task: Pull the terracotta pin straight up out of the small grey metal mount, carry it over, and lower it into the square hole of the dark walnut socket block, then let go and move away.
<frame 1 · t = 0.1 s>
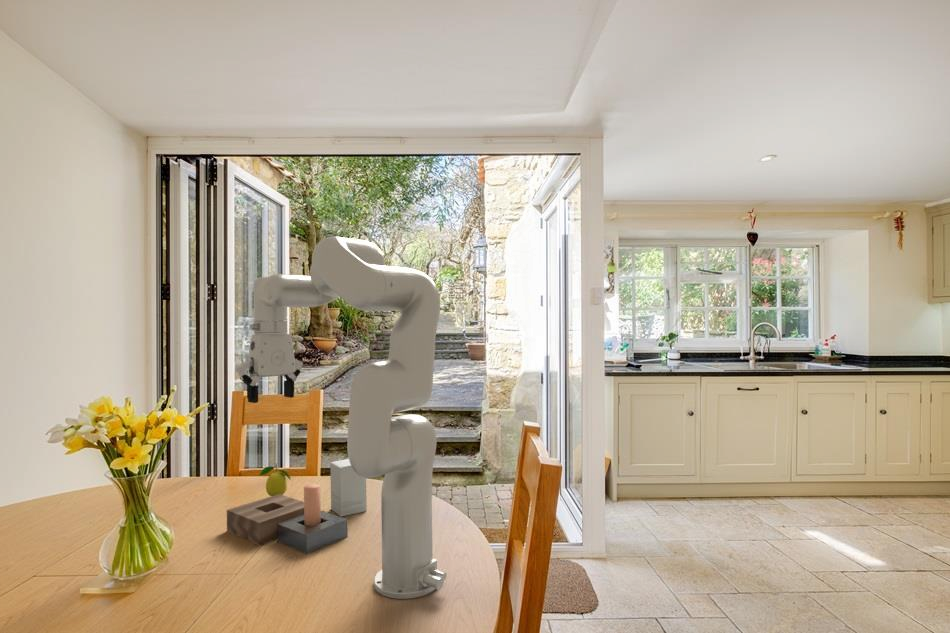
hand: (271, 399, 128), 31 cm above the table, tool pointing down, fingers open, 9 cm apart
pin mount: (312, 539, 121), on the table
supplement box: (348, 510, 140), on the table
pin: (312, 512, 121), in the pin mount
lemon: (275, 499, 149), on the table
socket block: (270, 528, 128), on the table
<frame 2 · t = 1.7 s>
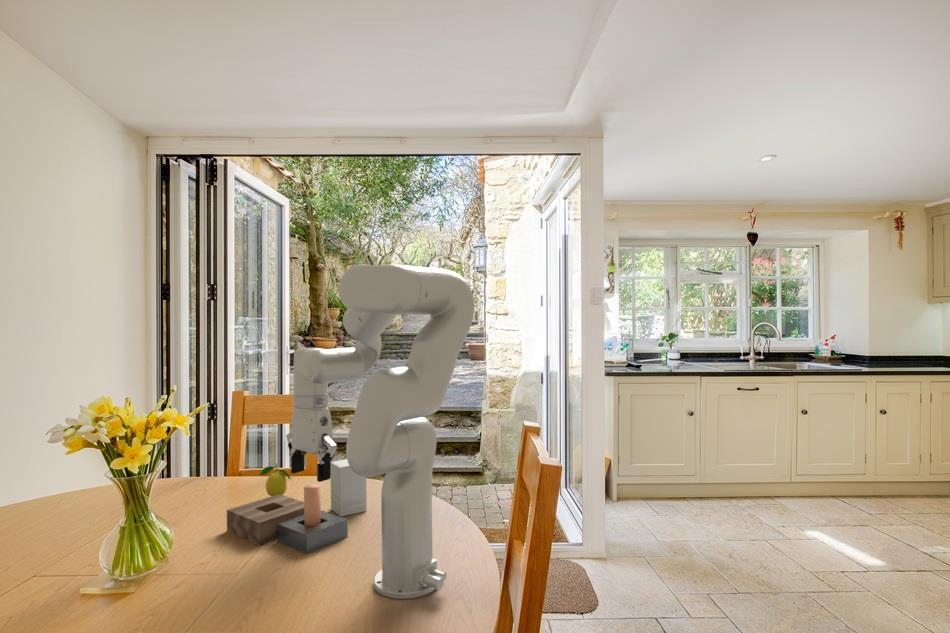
hand: (310, 476, 122), 14 cm above the table, tool pointing down, fingers open, 9 cm apart
nothing on the table moved.
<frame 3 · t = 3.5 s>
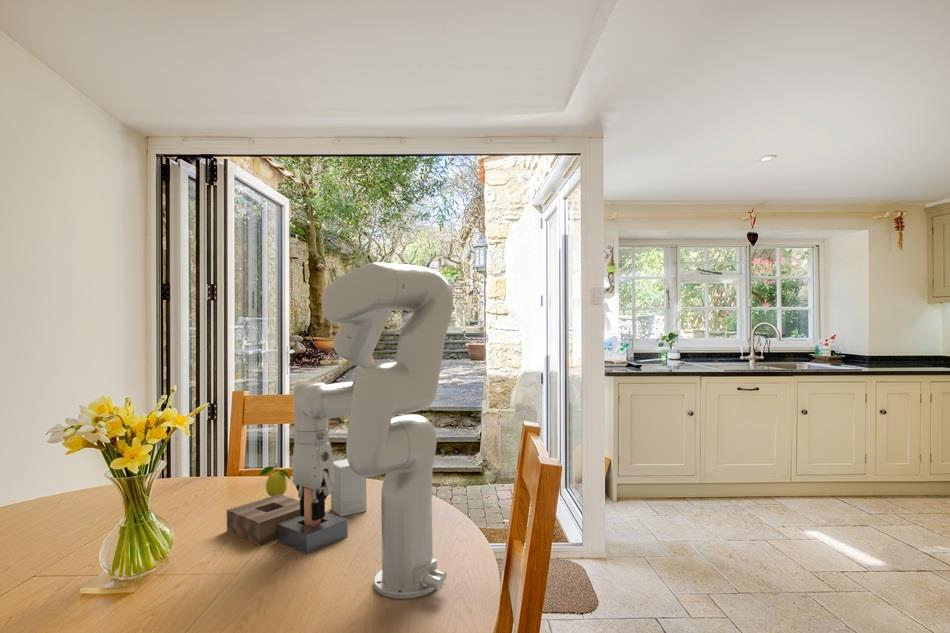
hand: (312, 515, 121), 5 cm above the table, tool pointing down, fingers closed on pin, 3 cm apart
pin: (312, 512, 121), in the pin mount, touching gripper
everything else where it was.
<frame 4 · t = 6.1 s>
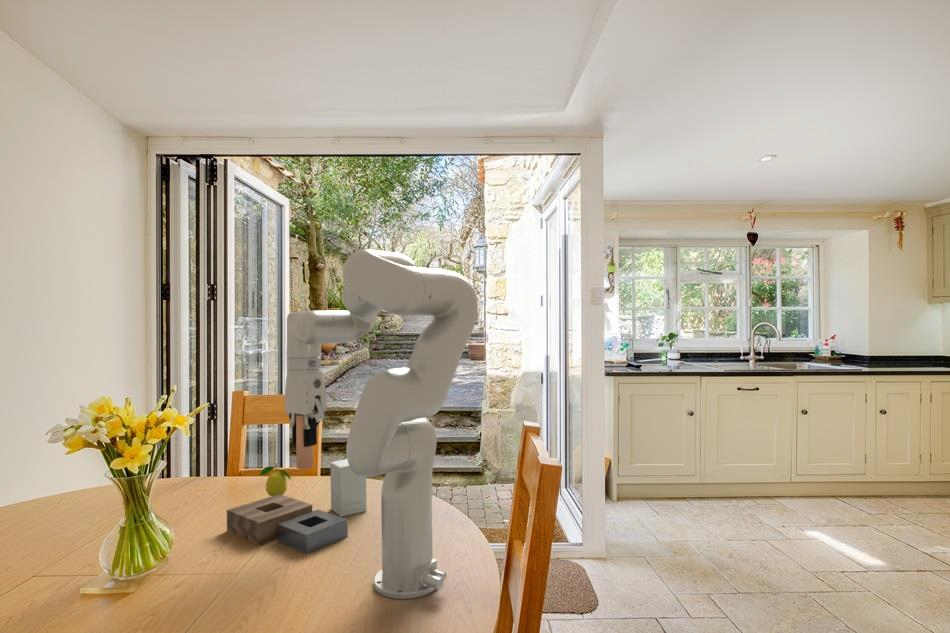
hand: (304, 443, 123), 22 cm above the table, tool pointing down, fingers closed on pin, 3 cm apart
pin: (304, 440, 123), point 22 cm above the table, touching gripper
everything else where it was.
when the fingers open (7 cm above the table, at t = 8.9 s): pin drops 1 cm, resting in socket block.
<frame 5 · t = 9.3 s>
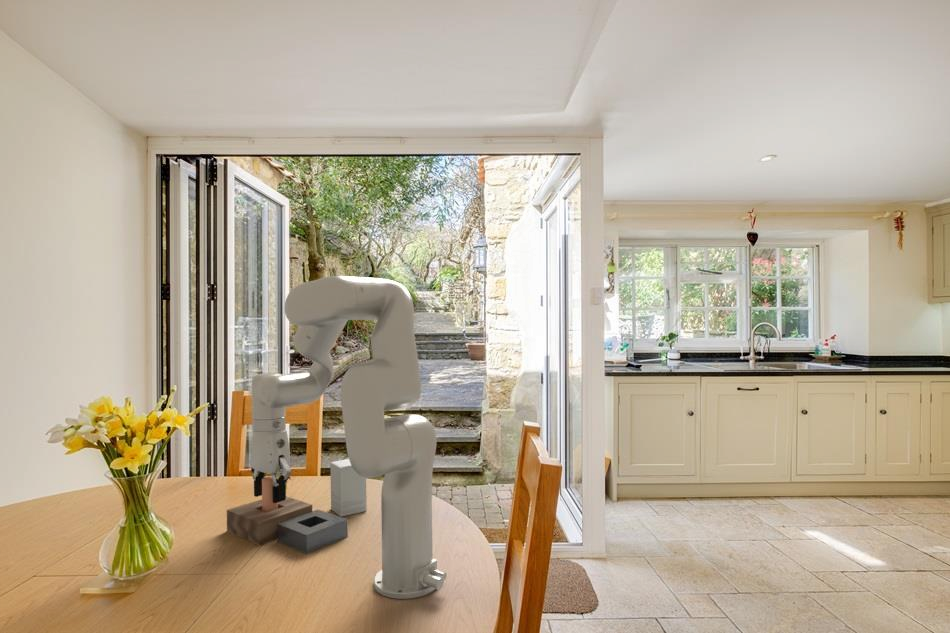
hand: (269, 497, 128), 7 cm above the table, tool pointing down, fingers open, 7 cm apart
pin: (270, 503, 128), in the socket block
everything else where it was.
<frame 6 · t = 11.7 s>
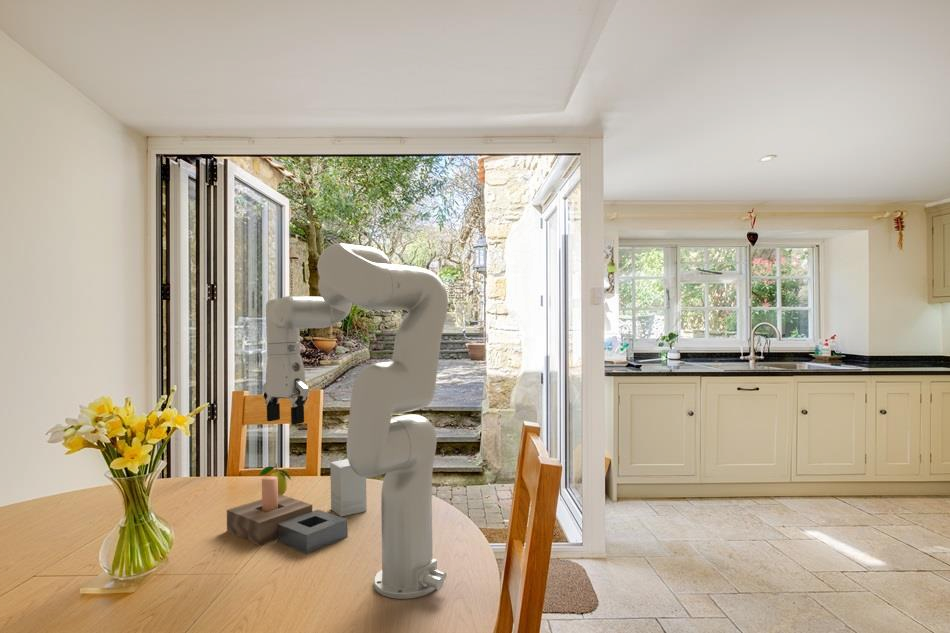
hand: (285, 421, 127), 26 cm above the table, tool pointing down, fingers open, 9 cm apart
nothing on the table moved.
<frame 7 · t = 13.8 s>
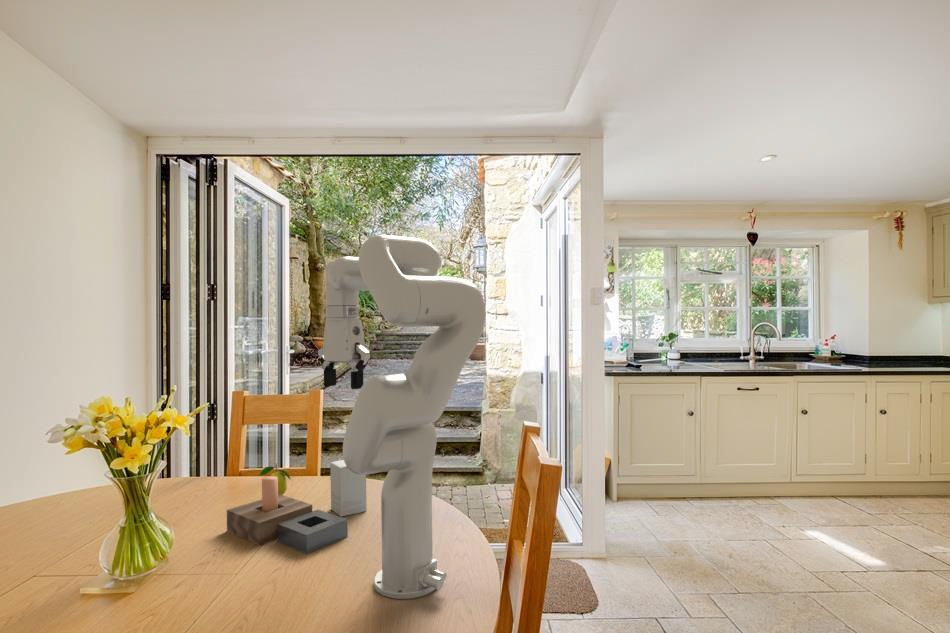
hand: (343, 387, 124), 34 cm above the table, tool pointing down, fingers open, 9 cm apart
nothing on the table moved.
at the end: pin 0.1 cm off-centre on the socket block, point 6.0 cm above the socket block's base; pin tilted 0°; the gripper is holding nothing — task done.
